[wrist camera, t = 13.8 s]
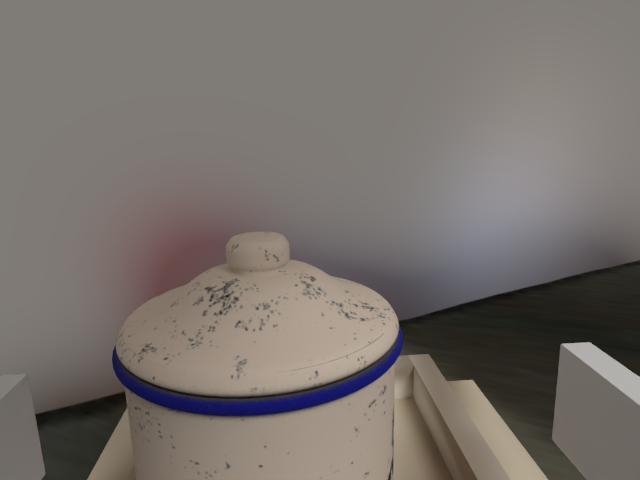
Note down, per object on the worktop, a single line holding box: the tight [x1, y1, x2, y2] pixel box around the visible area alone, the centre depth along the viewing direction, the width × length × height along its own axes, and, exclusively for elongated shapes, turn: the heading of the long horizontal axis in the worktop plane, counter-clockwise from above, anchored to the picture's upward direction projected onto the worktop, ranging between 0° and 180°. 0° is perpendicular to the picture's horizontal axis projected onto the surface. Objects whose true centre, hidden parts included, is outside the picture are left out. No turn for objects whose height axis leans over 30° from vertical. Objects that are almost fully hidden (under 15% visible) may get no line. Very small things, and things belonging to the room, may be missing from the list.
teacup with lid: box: [112, 232, 403, 480], centre depth 18 cm, size 12×9×12 cm
